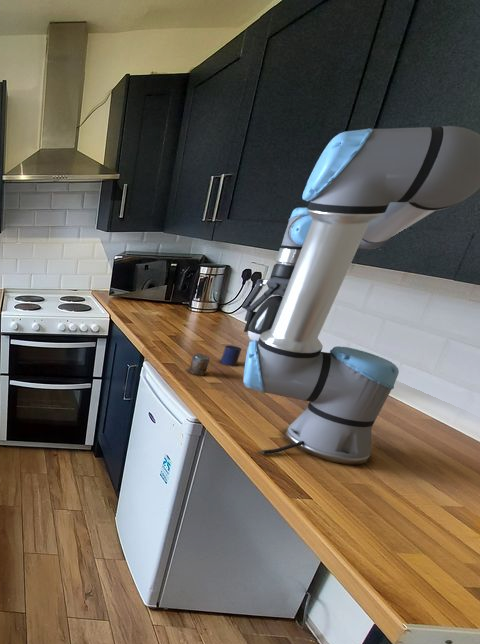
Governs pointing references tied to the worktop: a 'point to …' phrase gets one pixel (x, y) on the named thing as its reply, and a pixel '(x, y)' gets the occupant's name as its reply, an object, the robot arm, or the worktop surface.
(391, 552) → the worktop surface
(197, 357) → the dark brown cylinder
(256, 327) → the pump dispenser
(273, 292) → the robot arm
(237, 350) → the dark blue cylinder
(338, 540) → the worktop surface
